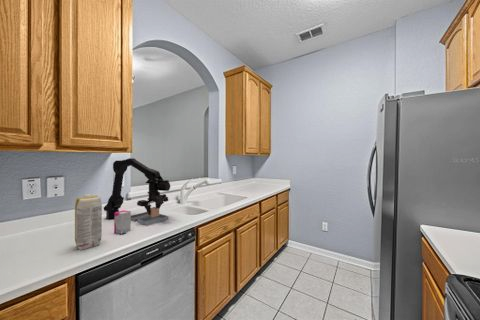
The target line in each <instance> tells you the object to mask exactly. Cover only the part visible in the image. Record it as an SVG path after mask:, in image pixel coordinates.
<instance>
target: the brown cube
mask: <svg viewBox="0 0 480 320" xmlns="http://www.w3.org/2000/svg"><path fill="white" fill-rule="evenodd" d="M150 210H151V213H150V215H149V214H148V217H152V218H153V217H156V216H159V214H160V209H159V208H157V207H156V206H154V207H152V206H151V207H150Z"/></svg>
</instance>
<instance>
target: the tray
mask: <svg viewBox="0 0 480 320" xmlns="http://www.w3.org/2000/svg"><path fill="white" fill-rule="evenodd" d="M168 220H169V215H166V214H163V213H159V216H156V217H153V218H152V217H145V218H141V219H138V221H137V223H138V224H140V225H143V226H146V227H149V226H150V225H154V224H157V223H160V222H164V221H168Z"/></svg>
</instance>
